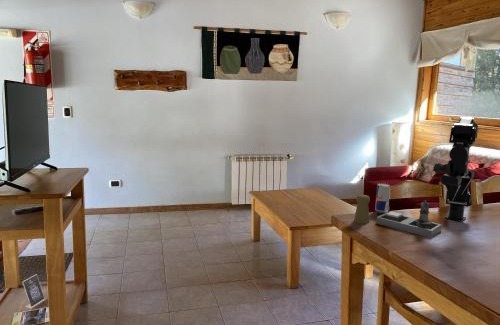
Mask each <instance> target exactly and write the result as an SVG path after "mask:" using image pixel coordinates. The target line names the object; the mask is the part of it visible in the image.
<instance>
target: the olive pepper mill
mask: <svg viewBox="0 0 500 325" xmlns="http://www.w3.org/2000/svg"><path fill="white" fill-rule="evenodd" d="M355 199H356V203H357V205H356V209H355V214H354V219H353V222H355V223H357V224H362V225H364V224H365V225H368V224H369V223H370V213H369V210H370V209H369V204H370V201H371V199H370V196H369V195H366V194H358V195H357V196H356V198H355Z"/></svg>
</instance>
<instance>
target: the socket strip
mask: <svg viewBox="0 0 500 325" xmlns="http://www.w3.org/2000/svg"><path fill="white" fill-rule="evenodd" d="M390 212H391V211H390ZM390 212H389V211H388V212H387V213H390ZM387 213H382V214H380V215H378V216H376V221H375V222H376V223H375V224H378V225H381V226H384V227H388V228H389V227H390V228H393V229H395V230H396V229H397V230H399V231H403V232H408V233H412V234H416V235H421V236H422V237H426V238H427V237H428V238H432V237H434V236H436V235H437V234H439V233H441V232H442V229H443V228H442V225H443V224H440V223H436V222H433V221H431V222H432V223H431V225H430V227H429V228H427V229H425V228H421V227H418V226H417V225H416V221H415V220H416V219H417V218H415V217H412V216H411V217H410V216H407V215H403V221H402V222H397V221H392V220H388V219H385V217H386V215H387Z"/></svg>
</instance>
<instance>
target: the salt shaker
mask: <svg viewBox="0 0 500 325" xmlns="http://www.w3.org/2000/svg"><path fill="white" fill-rule="evenodd" d="M429 210H430V203H429V202H427V200H426V199H425V200H424V201H422V202H421V204H420V210H418V211H419V217H418V218H415V219H416V220H415V221H416V225H417V226H418V227H421V228H425V229H427V228H429V227H430V225H431V223H432V222H433V221H431V220H430V219H429V214H430V213H431V212H430V211H429Z"/></svg>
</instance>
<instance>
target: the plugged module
mask: <svg viewBox="0 0 500 325" xmlns="http://www.w3.org/2000/svg"><path fill="white" fill-rule="evenodd" d="M403 216H404V214H403V213H401V212H395V211H390V213H387V215H386V217H385V219H388V220H392V221H397V222H402V221H403Z"/></svg>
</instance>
